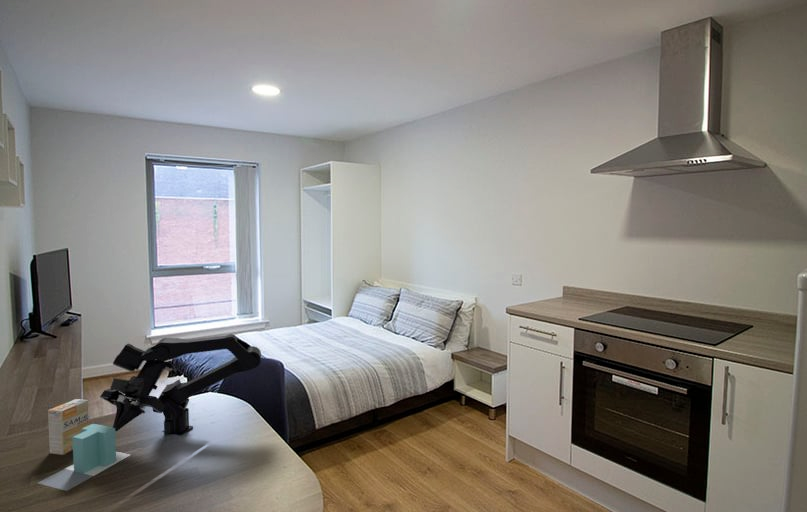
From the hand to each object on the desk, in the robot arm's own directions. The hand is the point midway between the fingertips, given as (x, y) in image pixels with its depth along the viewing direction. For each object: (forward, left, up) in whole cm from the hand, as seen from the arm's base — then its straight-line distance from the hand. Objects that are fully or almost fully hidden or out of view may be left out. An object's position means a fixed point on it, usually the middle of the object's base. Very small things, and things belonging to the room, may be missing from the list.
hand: (114, 430), depth 120 cm
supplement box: (+1, -15, -7) cm, 17 cm away
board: (+8, 0, -7) cm, 11 cm away
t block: (+6, 0, -6) cm, 9 cm away
